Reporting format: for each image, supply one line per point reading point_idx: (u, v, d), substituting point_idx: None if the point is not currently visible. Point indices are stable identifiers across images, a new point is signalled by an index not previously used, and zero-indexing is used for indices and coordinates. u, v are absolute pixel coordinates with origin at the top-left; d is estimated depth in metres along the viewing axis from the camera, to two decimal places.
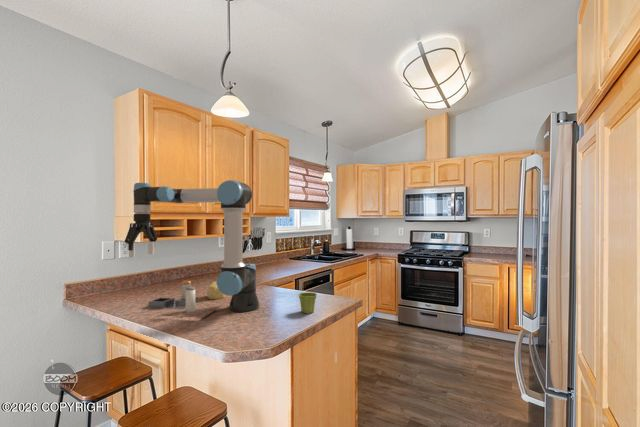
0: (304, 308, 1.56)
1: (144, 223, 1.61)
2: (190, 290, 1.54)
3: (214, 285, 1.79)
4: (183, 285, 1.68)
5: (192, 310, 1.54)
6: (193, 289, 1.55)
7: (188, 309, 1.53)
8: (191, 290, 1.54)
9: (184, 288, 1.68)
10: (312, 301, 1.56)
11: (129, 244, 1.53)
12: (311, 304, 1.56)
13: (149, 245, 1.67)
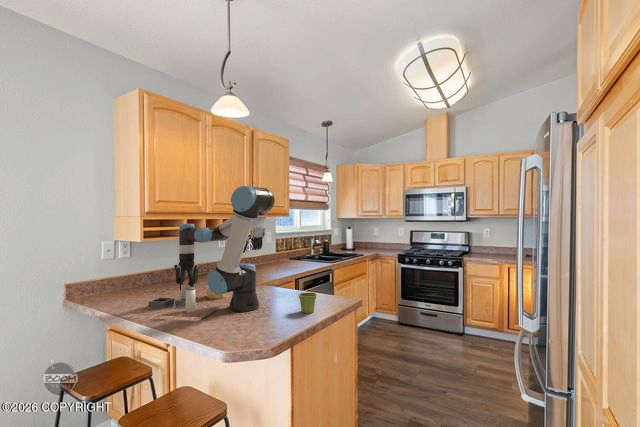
0: (304, 308, 1.56)
1: (186, 262, 1.68)
2: (190, 290, 1.54)
3: None
4: (183, 285, 1.68)
5: (192, 310, 1.54)
6: (193, 289, 1.55)
7: (188, 309, 1.53)
8: (191, 290, 1.54)
9: (184, 288, 1.68)
10: (312, 301, 1.56)
11: None
12: (311, 304, 1.56)
13: None
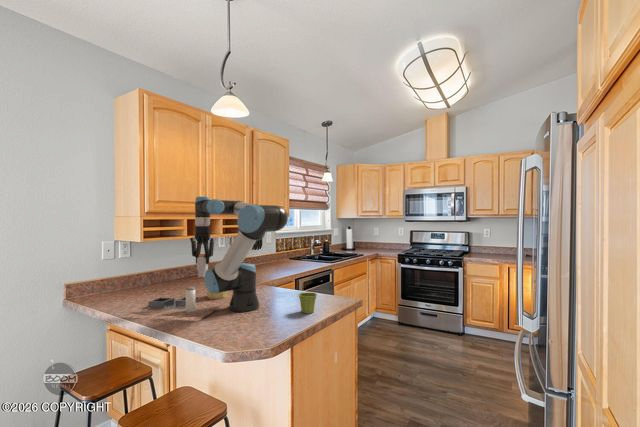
0: (304, 308, 1.56)
1: (202, 235, 1.68)
2: (190, 290, 1.54)
3: None
4: (199, 258, 1.68)
5: (192, 310, 1.54)
6: (193, 289, 1.55)
7: (188, 309, 1.53)
8: (191, 290, 1.54)
9: (200, 261, 1.67)
10: (312, 301, 1.56)
11: None
12: (311, 304, 1.56)
13: None
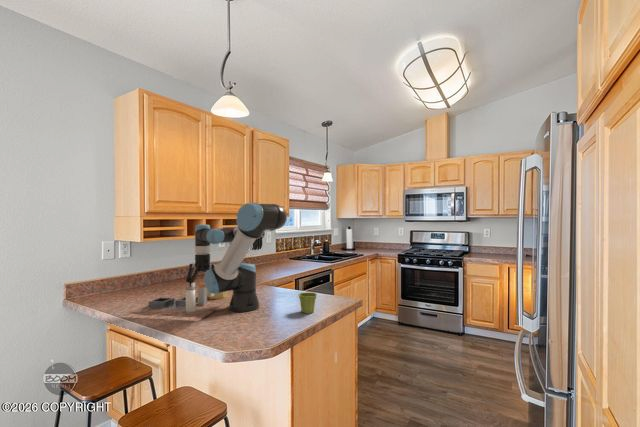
0: (304, 308, 1.56)
1: (202, 263, 1.68)
2: (190, 290, 1.54)
3: None
4: (199, 288, 1.67)
5: (192, 310, 1.54)
6: (193, 289, 1.55)
7: (188, 309, 1.53)
8: (191, 290, 1.54)
9: (200, 291, 1.67)
10: (312, 301, 1.56)
11: None
12: (311, 304, 1.56)
13: None
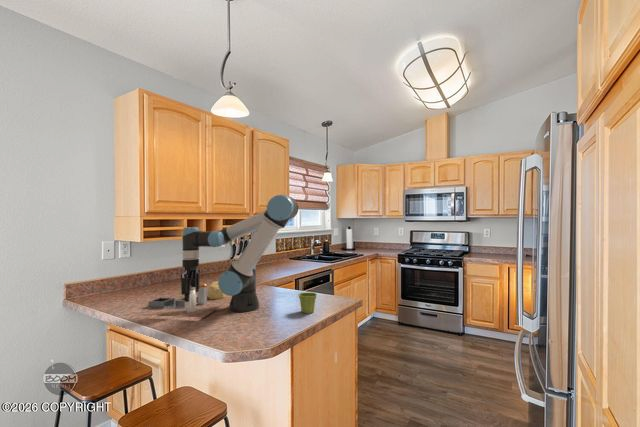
0: (304, 308, 1.56)
1: (193, 268, 1.56)
2: (190, 290, 1.54)
3: (214, 285, 1.79)
4: (199, 288, 1.67)
5: (192, 310, 1.54)
6: (193, 289, 1.55)
7: (188, 309, 1.53)
8: (191, 290, 1.54)
9: (200, 291, 1.67)
10: (312, 301, 1.56)
11: (185, 295, 1.52)
12: (311, 304, 1.56)
13: None
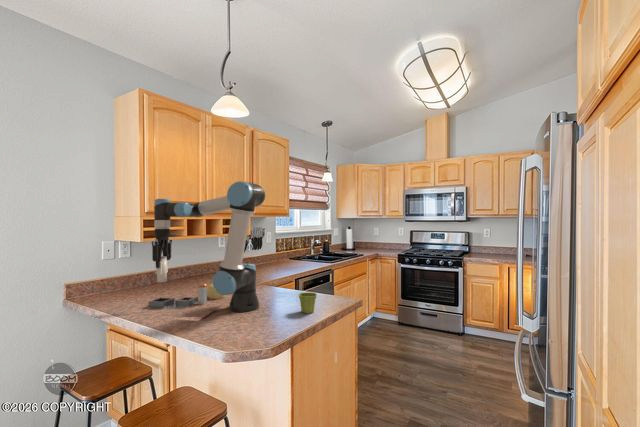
0: (304, 308, 1.56)
1: (164, 238, 1.66)
2: (161, 258, 1.63)
3: None
4: (199, 288, 1.67)
5: (163, 277, 1.64)
6: (164, 258, 1.64)
7: (159, 277, 1.63)
8: (162, 259, 1.64)
9: (200, 291, 1.67)
10: (312, 301, 1.56)
11: (156, 262, 1.61)
12: (311, 304, 1.56)
13: None
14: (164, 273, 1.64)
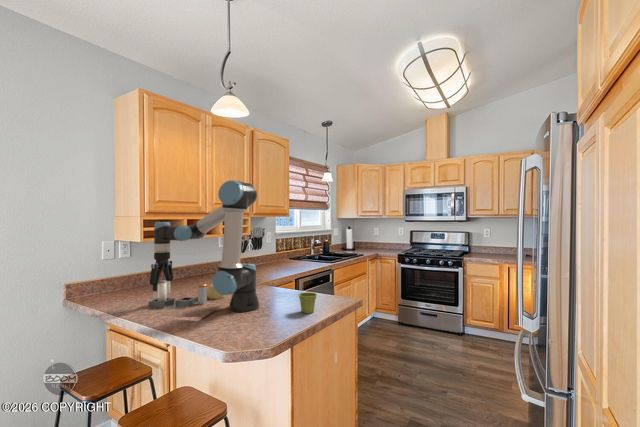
0: (304, 308, 1.56)
1: (164, 261, 1.66)
2: (161, 283, 1.63)
3: None
4: (199, 288, 1.67)
5: None
6: (164, 282, 1.64)
7: (159, 301, 1.63)
8: (162, 283, 1.64)
9: (200, 291, 1.67)
10: (312, 301, 1.56)
11: (154, 285, 1.59)
12: (311, 304, 1.56)
13: None
14: (164, 297, 1.64)
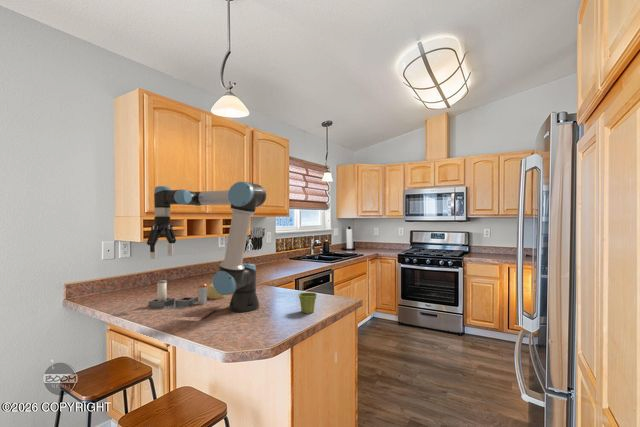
0: (304, 308, 1.56)
1: (164, 225, 1.66)
2: (161, 283, 1.63)
3: None
4: (199, 288, 1.67)
5: None
6: (164, 282, 1.64)
7: (159, 301, 1.63)
8: (162, 283, 1.64)
9: (200, 291, 1.67)
10: (312, 301, 1.56)
11: (151, 246, 1.57)
12: (311, 304, 1.56)
13: (169, 247, 1.72)
14: (164, 297, 1.64)
